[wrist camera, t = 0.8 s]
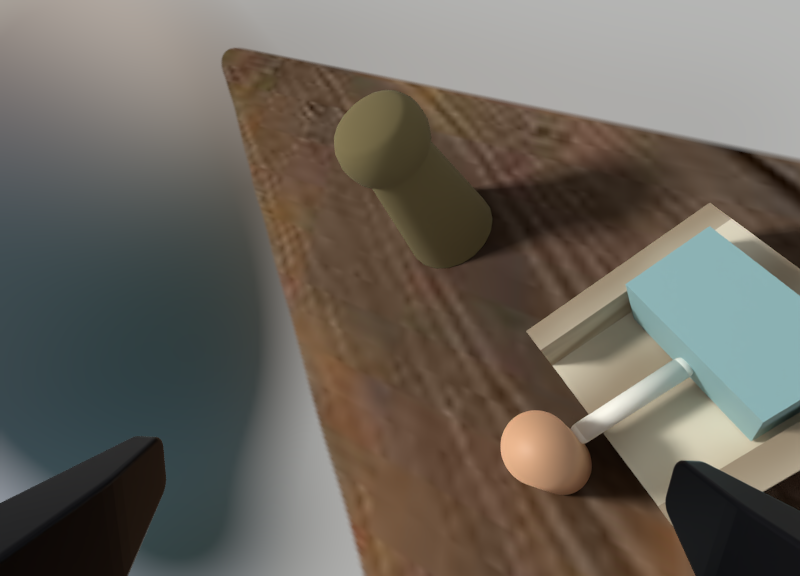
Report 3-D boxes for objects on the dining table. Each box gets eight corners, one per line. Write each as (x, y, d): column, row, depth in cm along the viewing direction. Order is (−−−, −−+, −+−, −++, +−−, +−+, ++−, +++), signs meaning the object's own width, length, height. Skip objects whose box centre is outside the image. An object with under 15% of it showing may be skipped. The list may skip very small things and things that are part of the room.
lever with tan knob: (838, 390, 19) (875, 354, 16) (576, 548, 21) (552, 550, 18) (706, 276, 23) (709, 226, 20) (496, 418, 25) (463, 396, 22)
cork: (394, 249, 34) (296, 151, 26) (442, 181, 35) (361, 63, 26) (458, 282, 31) (368, 181, 22) (510, 206, 31) (442, 78, 22)
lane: (913, 404, 18) (952, 381, 16) (682, 539, 20) (682, 538, 17) (707, 240, 24) (709, 202, 22) (543, 353, 26) (526, 331, 23)
